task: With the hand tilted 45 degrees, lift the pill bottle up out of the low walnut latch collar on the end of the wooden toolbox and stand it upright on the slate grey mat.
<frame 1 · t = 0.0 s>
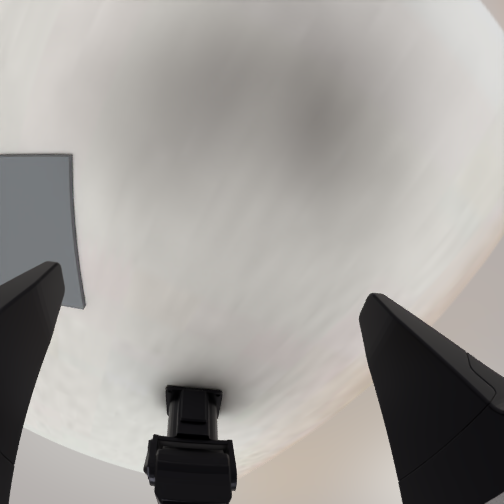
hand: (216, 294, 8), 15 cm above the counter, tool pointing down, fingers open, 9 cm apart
slate mat: (12, 231, 22), on the counter
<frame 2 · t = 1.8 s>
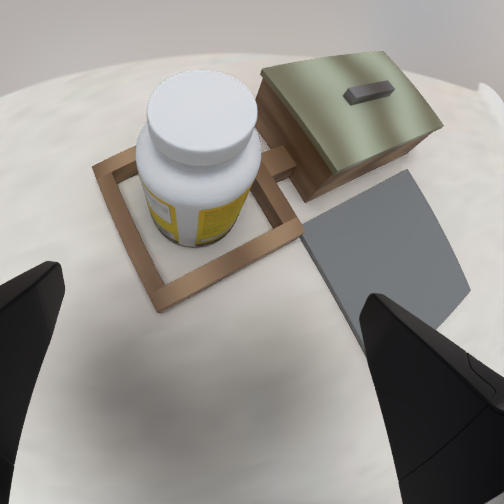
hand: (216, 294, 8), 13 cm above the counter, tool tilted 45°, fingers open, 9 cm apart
slate mat: (398, 265, 25), on the counter
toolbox: (193, 206, 23), on the counter
pill bottle: (193, 207, 23), resting in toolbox
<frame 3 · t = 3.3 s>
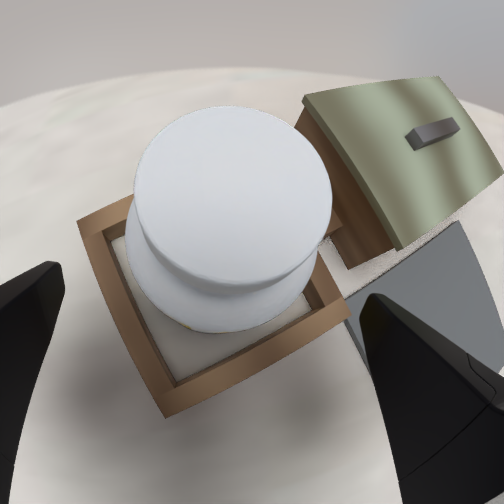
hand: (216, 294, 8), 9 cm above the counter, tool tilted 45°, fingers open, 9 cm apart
slate mat: (444, 337, 20), on the counter
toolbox: (210, 276, 18), on the counter
pill bottle: (209, 277, 18), resting in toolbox
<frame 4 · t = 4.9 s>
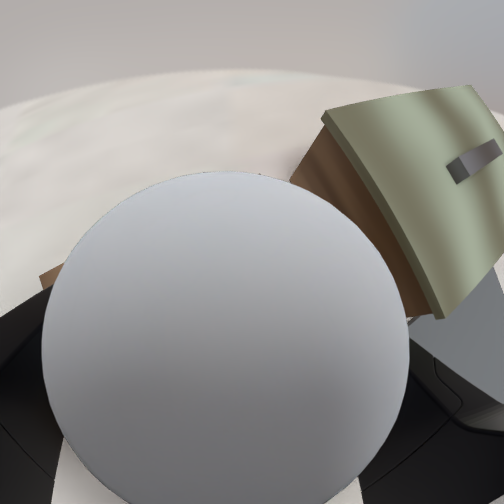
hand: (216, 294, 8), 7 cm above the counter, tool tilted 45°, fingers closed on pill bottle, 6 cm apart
slate mat: (466, 385, 16), on the counter
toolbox: (204, 340, 14), on the counter
pill bottle: (204, 340, 14), resting in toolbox, touching gripper
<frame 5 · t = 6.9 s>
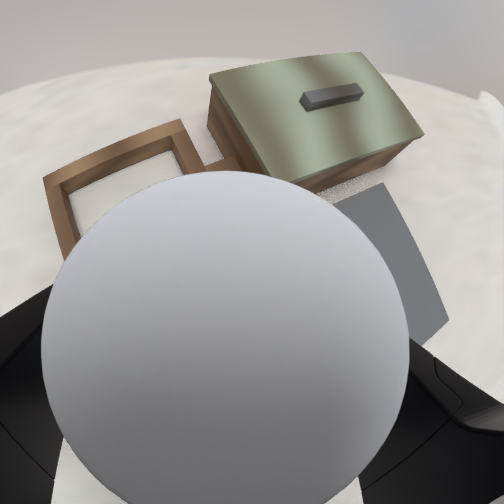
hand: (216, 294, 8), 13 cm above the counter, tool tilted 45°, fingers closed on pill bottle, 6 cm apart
slate mat: (361, 290, 24), on the counter
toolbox: (137, 220, 22), on the counter
pill bottle: (203, 340, 14), point 6 cm above the counter, touching gripper
when the fingers open (8 cm above the counter, at t = 9.3 s): pill bottle stays where it is, resting on slate mat.
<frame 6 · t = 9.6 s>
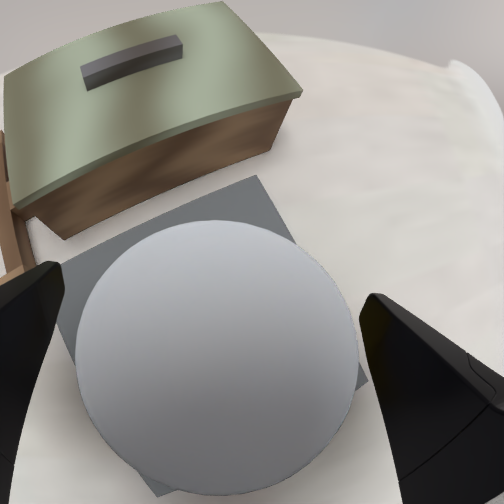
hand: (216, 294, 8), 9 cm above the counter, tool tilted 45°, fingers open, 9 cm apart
slate mat: (202, 339, 16), on the counter
pill bottle: (201, 343, 16), resting on slate mat
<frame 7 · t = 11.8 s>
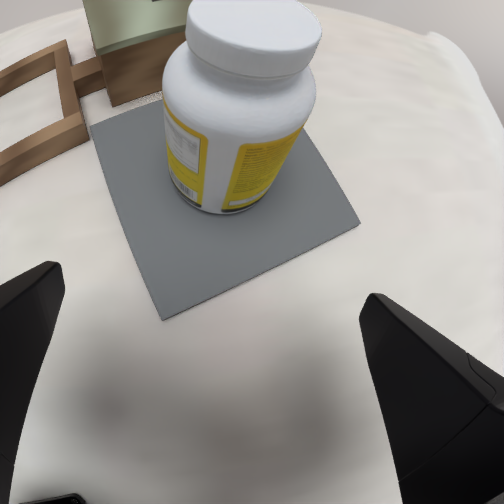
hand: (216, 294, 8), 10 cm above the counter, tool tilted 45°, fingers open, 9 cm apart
slate mat: (220, 172, 20), on the counter
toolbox: (16, 120, 18), on the counter
pill bottle: (219, 171, 19), resting on slate mat
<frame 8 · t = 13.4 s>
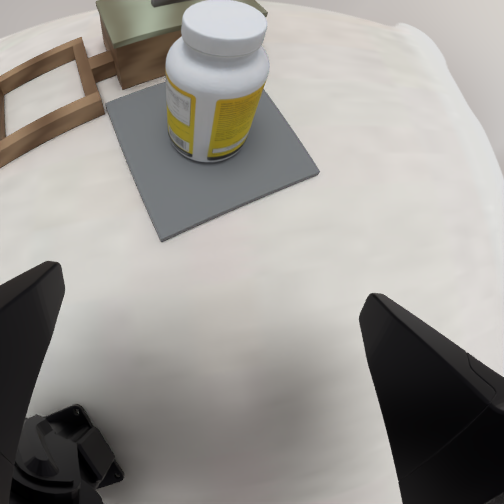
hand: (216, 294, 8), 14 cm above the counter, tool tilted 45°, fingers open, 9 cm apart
slate mat: (207, 135, 25), on the counter
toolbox: (41, 100, 23), on the counter
pill bottle: (206, 134, 24), resting on slate mat
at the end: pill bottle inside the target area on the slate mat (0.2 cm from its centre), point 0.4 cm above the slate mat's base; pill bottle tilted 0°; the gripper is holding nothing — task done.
